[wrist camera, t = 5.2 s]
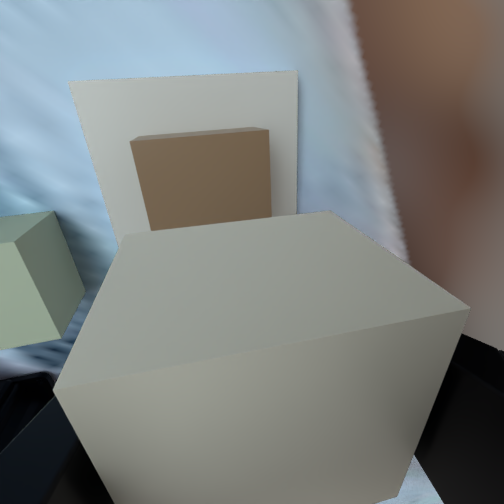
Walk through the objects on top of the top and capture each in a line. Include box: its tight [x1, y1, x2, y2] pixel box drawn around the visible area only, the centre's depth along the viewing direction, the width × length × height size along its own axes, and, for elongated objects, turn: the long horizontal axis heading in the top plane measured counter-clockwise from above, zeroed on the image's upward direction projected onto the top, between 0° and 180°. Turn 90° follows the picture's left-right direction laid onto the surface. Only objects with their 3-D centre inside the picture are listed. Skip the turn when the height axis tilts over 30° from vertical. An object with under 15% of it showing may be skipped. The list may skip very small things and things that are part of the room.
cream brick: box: [53, 211, 471, 504], centre depth 7 cm, size 6×6×4 cm
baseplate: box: [68, 70, 298, 247], centre depth 15 cm, size 11×11×4 cm
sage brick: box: [0, 211, 86, 350], centre depth 15 cm, size 6×6×4 cm
